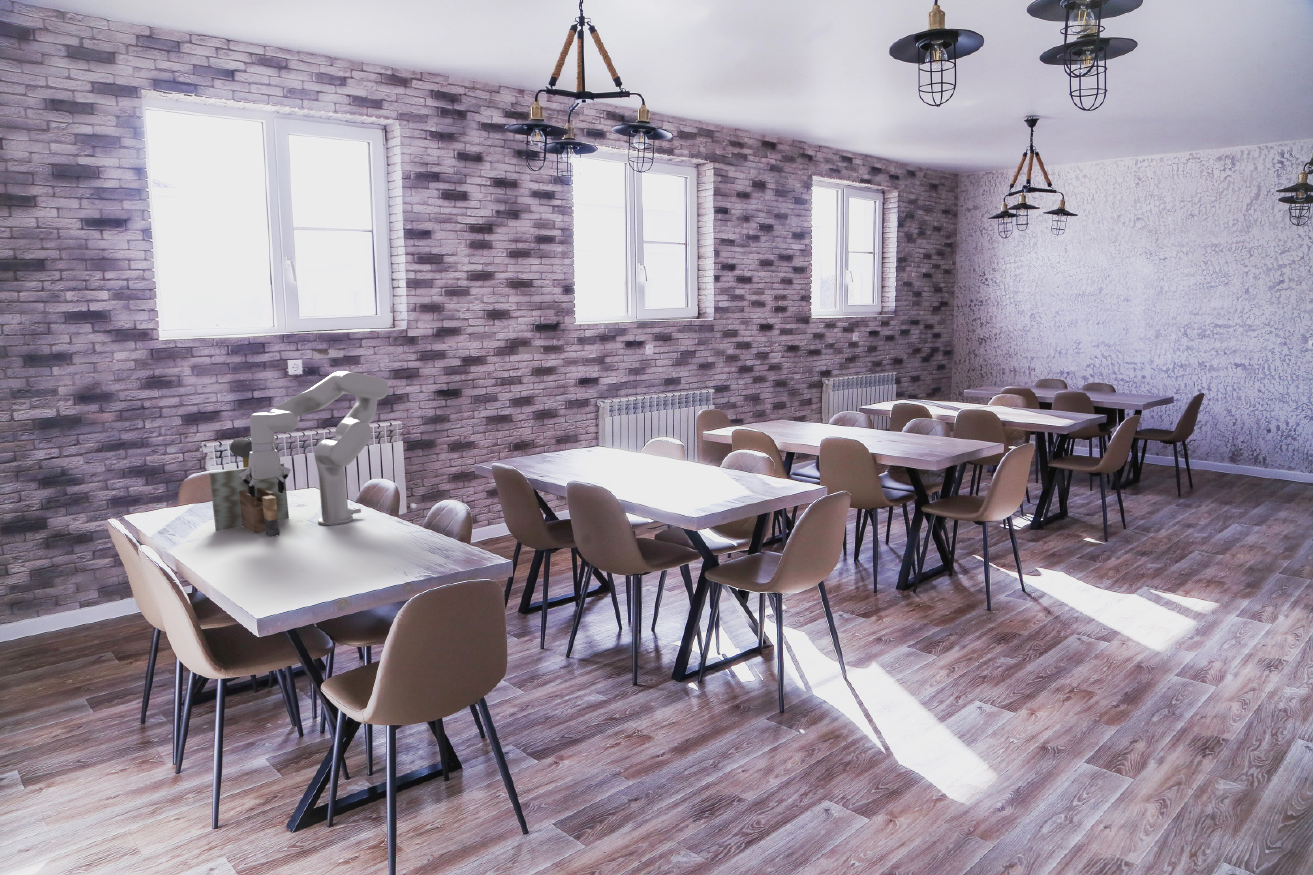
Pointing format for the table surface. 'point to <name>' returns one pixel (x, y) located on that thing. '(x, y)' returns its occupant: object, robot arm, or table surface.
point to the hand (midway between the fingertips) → (266, 494)
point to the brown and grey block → (270, 515)
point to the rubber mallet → (242, 450)
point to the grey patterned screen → (243, 500)
